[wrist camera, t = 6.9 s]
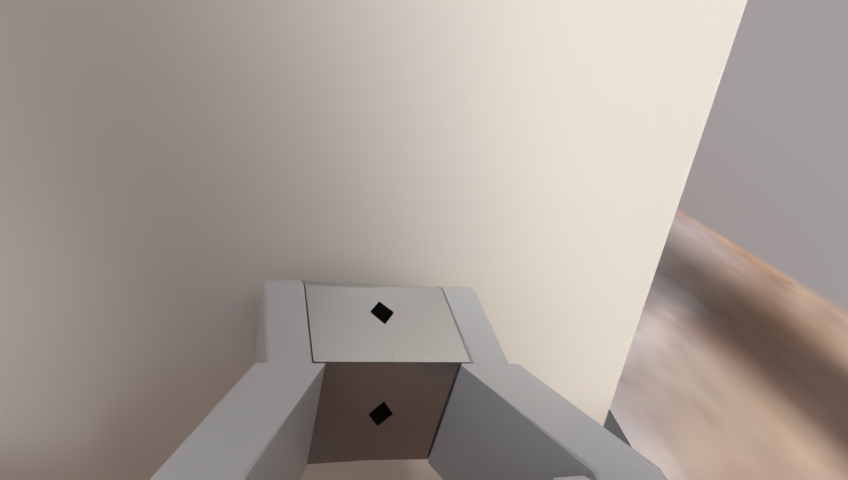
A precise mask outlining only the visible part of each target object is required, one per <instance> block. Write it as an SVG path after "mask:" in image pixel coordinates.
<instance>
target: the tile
mask: <svg viewBox="0 0 848 480" xmlns="http://www.w3.org/2000/svg"><path fill="white" fill-rule="evenodd" d="M746 2H747V0H0V480H150V479H151V478H152V477H153V475H154V474H155V473H156V472H157V471H158V470H159V469H160V468H161V467H162V465H163V464H164V463H165V462H166V461H167V460H168V459H169V458H170V457H171V455H172V454H173V453H174V452H175V451H176V450H177V449H178V448H179V447H180V445H181V444H182V443H183V442H184V441H185V440H186V439H187V438H188V437H189V435H190V434H191V433H192V432H193V431H194V430H195V429H196V428H197V427H198V425H199V424H200V423H201V422H202V421H203V420H204V419H205V418H206V417H207V415H208V414H209V413H210V412H211V411H212V410H213V409H214V408H215V407H216V405H217V404H218V403H219V402H220V401H221V400H222V399H223V398H224V396H225V395H226V394H227V393H228V392H229V391H230V390H231V389H232V388H233V386H234V385H235V384H236V383H237V382H238V381H239V380H240V379H241V378H242V376H243V375H244V374H245V373H246V372H247V371H248V370H249V369H250V368H251V366H252V365H253V364H254V363H255V350H256V338H257V330H258V321H259V312H260V303H261V294H262V286H263V283H264V279H285V280H301V281H303V280H307V281H323V282H338V283H354V284H370V285H380V286H407V287H434V288H437V287H438V286H439V287H471V288H472V289H473V290H475V292H476V294H477V296H478V298H479V300H480V303H481V305H482V307H483V309H484V311H485V313H486V315H487V318H488V320H489V322H490V324H491V326H492V328H493V331H494V333H495V335H496V337H497V339H498V341H499V343H500V346H501V348H502V350H503V352H504V354H505V356H506V359H507V361H508V363H509V364H519V365H520V366H522V367H523V368H525V369H526V370H527V371H529V372H530V373H531V374H533V375H534V376H535V377H537V378H538V379H539V380H541V381H542V382H543V383H545V384H546V385H548V386H549V387H550V388H552V389H553V390H554V391H556V392H557V393H558V394H560V395H561V396H562V397H564V398H565V399H566V400H568V401H569V402H570V403H572V404H573V405H575V406H576V407H577V408H579V409H580V410H581V411H583V412H584V413H585V414H587V415H588V416H589V417H591V418H592V419H593V420H595V421H596V422H597V423H599V424H600V425H602V426H604V423H605V420H606V417H607V414H608V411H609V408H610V405H611V402H612V399H613V396H614V393H615V390H616V387H617V384H618V381H619V378H620V375H621V372H622V369H623V366H624V364H625V361H626V358H627V355H628V352H629V349H630V346H631V343H632V340H633V337H634V334H635V331H636V328H637V325H638V322H639V319H640V316H641V313H642V310H643V307H644V304H645V301H646V298H647V296H648V293H649V290H650V287H651V284H652V281H653V278H654V275H655V272H656V269H657V266H658V263H659V260H660V257H661V254H662V251H663V248H664V245H665V242H666V239H667V236H668V233H669V230H670V227H671V225H672V222H673V219H674V216H675V213H676V210H677V207H678V203H679V201H680V198H681V195H682V192H683V189H684V186H685V183H686V180H687V177H688V174H689V171H690V168H691V165H692V162H693V159H694V156H695V153H696V151H697V148H698V144H699V141H700V138H701V136H702V133H703V130H704V127H705V124H706V121H707V118H708V115H709V112H710V109H711V106H712V103H713V100H714V97H715V94H716V91H717V89H718V85H719V83H720V80H721V77H722V73H723V71H724V68H725V65H726V62H727V59H728V56H729V53H730V50H731V47H732V44H733V41H734V38H735V35H736V32H737V29H738V26H739V23H740V21H741V18H742V15H743V12H744V8H745V6H746ZM300 480H443V479H442V478H441V477H440V476H439V475H438V474H437V472H436V471H435V470H434V469H433V468H432V467H431V465H430V464H429V463H428V459H408V460H362V461H348V462H334V463H320V464H307V466H306V469H305V471H304V473H303V475H302V476H301V478H300Z"/></svg>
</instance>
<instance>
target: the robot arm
mask: <svg viewBox="0 0 848 480" xmlns="http://www.w3.org/2000/svg"><path fill="white" fill-rule="evenodd" d="M408 459H428V463H429V464H430V465H431V467H432V468H433V469H434V470H435V471H436V472H437V474H438V475H439V476H440V477H441V478H442V479H443V480H667V479H666V477H665V475H664V474H663V472H662V470H661V469H660V468H658V467H657V466H656V465H654V464H653V463H651V462H650V461H649V460H647V459H646V458H645V457H643V456H642V455H641V454H639V453H638V452H637V451H635V450H634V449H633V448H631V447H630V446H629V445H627V444H626V443H624V442H623V441H622V440H620V439H619V438H618V437H616V436H615V435H614V434H612V433H611V432H610V431H608V430H607V429H606V428H604V427H603V426H602V425H600V424H599V423H597V422H596V421H595V420H593V419H592V418H591V417H589V416H588V415H587V414H585V413H584V412H583V411H581V410H580V409H579V408H577V407H576V406H575V405H573V404H572V403H570V402H569V401H568V400H566V399H565V398H564V397H562V396H561V395H560V394H558V393H557V392H556V391H554V390H553V389H552V388H550V387H549V386H548V385H546V384H545V383H543V382H542V381H541V380H539V379H538V378H537V377H535V376H534V375H533V374H531V373H530V372H529V371H527V370H526V369H525V368H523V367H522V366H520V365H519V364H509V363H508V361H507V359H506V356H505V354H504V352H503V350H502V348H501V346H500V343H499V341H498V339H497V337H496V335H495V333H494V331H493V328H492V326H491V324H490V322H489V320H488V318H487V315H486V313H485V311H484V309H483V307H482V305H481V303H480V300H479V298H478V296H477V294H476V292H475V290H473V289H472V288H471V287H439V286H438V287H437V288H434V287H407V286H380V285H370V284H354V283H338V282H323V281H307V280H303V281H301V280H285V279H264V283H263V286H262V294H261V303H260V312H259V321H258V330H257V338H256V350H255V363H254V364H253V365H252V366H251V368H250V369H249V370H248V371H247V372H246V373H245V374H244V375H243V376H242V378H241V379H240V380H239V381H238V382H237V383H236V384H235V385H234V386H233V388H232V389H231V390H230V391H229V392H228V393H227V394H226V395H225V396H224V398H223V399H222V400H221V401H220V402H219V403H218V404H217V405H216V407H215V408H214V409H213V410H212V411H211V412H210V413H209V414H208V415H207V417H206V418H205V419H204V420H203V421H202V422H201V423H200V424H199V425H198V427H197V428H196V429H195V430H194V431H193V432H192V433H191V434H190V435H189V437H188V438H187V439H186V440H185V441H184V442H183V443H182V444H181V445H180V447H179V448H178V449H177V450H176V451H175V452H174V453H173V454H172V455H171V457H170V458H169V459H168V460H167V461H166V462H165V463H164V464H163V465H162V467H161V468H160V469H159V470H158V471H157V472H156V473H155V474H154V475H153V477H152V478H151V479H150V480H300V478H301V476H302V475H303V473H304V471H305V469H306V466H307V464H320V463H334V462H348V461H362V460H408Z"/></svg>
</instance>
